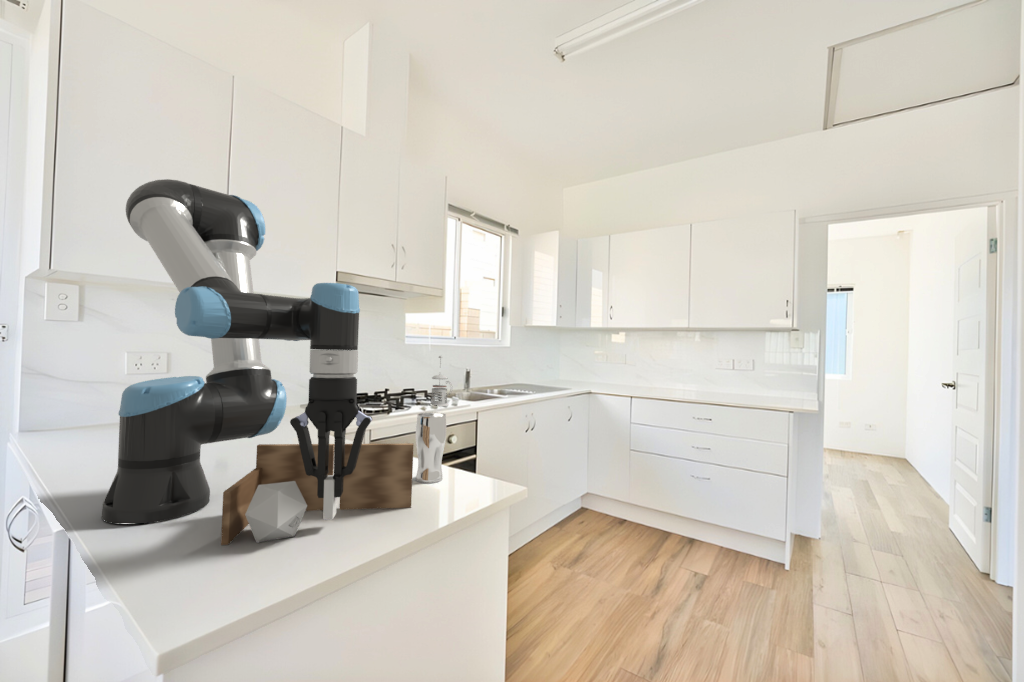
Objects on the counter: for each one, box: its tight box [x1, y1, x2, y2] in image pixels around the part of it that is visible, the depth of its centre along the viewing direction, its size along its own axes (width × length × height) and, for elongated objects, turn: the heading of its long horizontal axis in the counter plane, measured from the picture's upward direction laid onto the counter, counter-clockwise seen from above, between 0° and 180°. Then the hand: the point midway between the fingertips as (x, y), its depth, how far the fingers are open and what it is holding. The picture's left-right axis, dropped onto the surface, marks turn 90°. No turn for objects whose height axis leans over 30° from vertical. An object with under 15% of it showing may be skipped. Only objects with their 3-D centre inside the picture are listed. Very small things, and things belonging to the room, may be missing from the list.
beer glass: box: [415, 411, 447, 484], centre depth 103 cm, size 7×7×15 cm
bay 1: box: [220, 443, 335, 546], centre depth 75 cm, size 13×14×12 cm
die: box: [245, 481, 307, 544], centre depth 71 cm, size 8×9×10 cm
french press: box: [429, 355, 453, 407], centre depth 225 cm, size 10×12×25 cm
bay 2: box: [338, 442, 415, 511], centre depth 84 cm, size 13×1×12 cm, turn 101°
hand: (329, 516), depth 74 cm, fingers closed
